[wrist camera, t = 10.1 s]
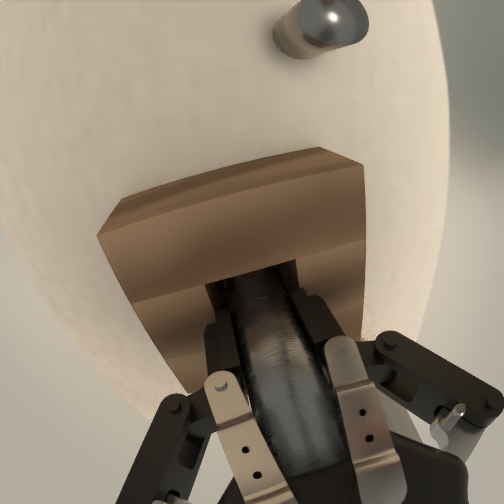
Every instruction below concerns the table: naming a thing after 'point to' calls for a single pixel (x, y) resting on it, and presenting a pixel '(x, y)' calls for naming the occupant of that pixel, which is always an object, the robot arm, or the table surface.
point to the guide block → (239, 245)
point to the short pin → (320, 27)
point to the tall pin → (283, 376)
